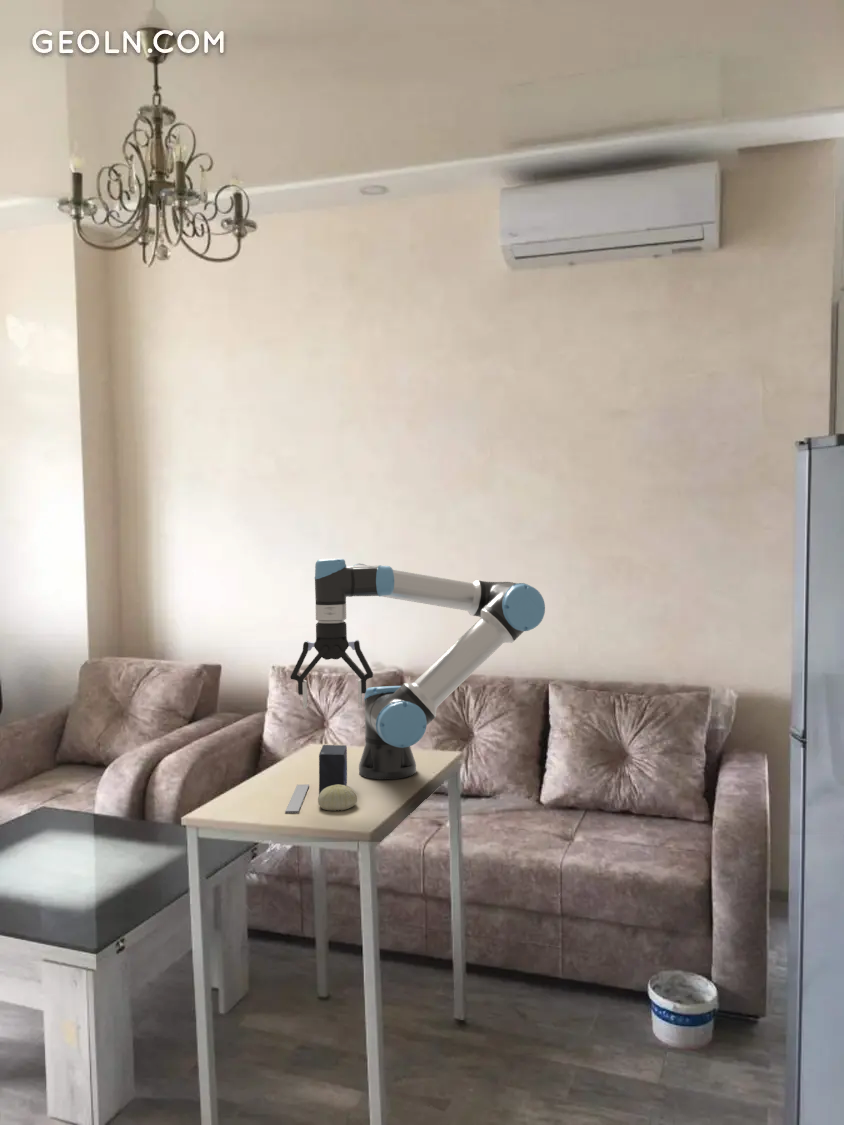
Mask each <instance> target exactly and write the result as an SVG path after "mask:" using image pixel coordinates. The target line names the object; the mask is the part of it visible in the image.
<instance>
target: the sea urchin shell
mask: <svg viewBox="0 0 844 1125" xmlns="http://www.w3.org/2000/svg"><path fill="white" fill-rule="evenodd" d="M357 802H358V796H357V793H356V792H355V791H354V789H352V788H351V787H349V786H348V785H347V786H345V785H339V784H338V785H332V786H328V787H326V788H325V789H323V790H322V791H321V793H320V794H319V793H318V797H317V803H318V806H319V807H320V808H321V809H323V810H326V811H336V810H338V811H339V810H341V811H346V810H349V809H352V808H353V807H354V806H356V804H357ZM341 811H340V812H341ZM336 812H337V811H336Z"/></svg>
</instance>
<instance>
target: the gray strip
mask: <svg viewBox="0 0 844 1125" xmlns="http://www.w3.org/2000/svg"><path fill="white" fill-rule="evenodd" d="M309 788H310V784H307V783H305V784H296V786H295V789H294V791H293V793H292V795H291V797H290V799H289V801H288V804H287V806H286V809H285V811H284V812H285V814H299V813H300V810H301V809H302V806H301V805H303V803H304V801H303V800H305V798H306V796H307V793H308V791H309ZM306 792H307V793H306Z"/></svg>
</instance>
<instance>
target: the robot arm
mask: <svg viewBox="0 0 844 1125" xmlns="http://www.w3.org/2000/svg"><path fill="white" fill-rule="evenodd" d="M314 568H315V569H314V592H315V594H314V595H315V597H314V598H315V620H316V621H317V622H316V624H315V642H311V641H309V640H306V641H304V642H303V644H302V645H303V646H302V652H301V653H300V655H299V658H298V660H297V662H296V664H295V666H294V668H293V671H292V672H291V675H290V679H291V680H294V681H295V682H297V692H298V695H299V696H300V695H301V696H302V709H304V710H306V709H307V708H308V687H307V686H308V685H307V684H308V681H307V680H305V678H306V677H307V676H308V675H309V674H310V672H311V671H312V670H313V669H314V667H315V666H316V665H317V664H318V663H319V662H320V660H321V659H324V660H325V661H326V660H327V661H328V660H339V659H342V660H343V661H344V662H345V663H346V664H347V665H348V666H349V668H350V669H351V670H352V671H353V672H354V674H356V676H357V677H358V678H359V679H358V681H357V692H358V694H357V697H358V699H357V700H358V704H357V706H358V708H362V707H363V702H364V729H365V730H364V735H365V736H364V737H365V738H364V739H365V742H364V744H365V745H364V748H363V751H362V754H361V758H360V761H359V764H358V773H359V775H360V776H361V777H364V778H367V779H373V780H398V779H404V778H409V777H412V776H414V775H415V774H416V773H417V763H416V759H415V757H414V754H413V751H412V749H411V748H412V746H414V745H416V744H417V743H418V742H420V741H421V740H422V738H423V737H424V735H425V733H426V730H427V726H428V725H430V723H432V721H433V720H434V719H435V718H436V717H437V708H438V707H439V706H440V705H441V704H442V703H443V702H444V701H445V700H446V699H447V698H448V697H449V696H450V695H451V694H452V693H454V691H456V690H457V689H458V687H460V686H461V685H462V684H463V683H464V681H465V682H466V680H467V679H468V678H469V677H470V676H471V675H472V674H473V673H474V672H475V671H476V670H478V668H479V667H480V666H481V665H483V664H484V663H485V662H486V661H487V659H489V657H490V656H492V654H494V652H496V651H497V650H498V649H499V648H500V647H501V646H502V645H503V644H505V643H508V644H509V643H510V644H513V642H515V640H517V639H518V637H520V636H521V635H522V634H523V633H524V632H529V631H531V630H533V629H535V628H537V627H538V626H539V625H540V624H541V622H542V621H543V619H544V616H545V612H546V605H545V604H546V603H545V600H544V597H543V595H542V594H541V593H540V591H539V590H538V589H537V588H535V587H534V586H531V585H529V584H528V583H524V582H523V583H522V582H521V583H520V582H519V583H517V582H512V581H485V580H478V579H475V580H474V581H473V582H468V581H461V580H455V579H450V578H449V579H448V578H445V577H437V576H432V575H426V574H422V573H414V572H409V571H405V570H404V571H403V570H397V569H393V567H391V566H389V565H367V564H364V563H356V564H354V565H351V566H347V564H346V559H344V558H322V559H321V558H320V559H318V560H317V561H316V562H315V566H314ZM347 597H348V598H349V597H350V598H353V597H382V598H387V599H388V598H389V599H395V600H400V601H407V602H411V603H418V604H423V605H424V604H425V605H430V606H434V607H435V606H436V607H443V608H449V609H454V610H460V611H467V612H468V614H469V615H470V616H473V617H479V619H478V620H477V621H475V623H474V624H473V625H472V626H471V627H470V628H469V629H468V630H467V631H466V632H465V633H464V634H462V636H461V637H459V638H458V639H457V641H455V643H453V644H452V645H451V646H450V647H449V648H448V649H447V650H446V651H444V653H443V654H442V655H441V656H440V657H439V658H438V659H437V660H435V661H434V662H433V664H431V665H430V666H429V667H428V668H427V669H426V670H425V671H424V672H423V673H422V674H421V675H420V676H419V677H417V678H416V679H415V681H413V682H408V683H407V682H404V683H403V684H402V685H388V686H387V685H386V686H373V687H372V686H371V687H367V680H368V679H371V678H374V671H373V670H372V668H371V667H370V665H369V663H368V660H367V658H366V657H365V655H364V653H363V651H362V649H361V644H360V641H359V639H356V640H352V641H348V637H347V631H348V630H347V628H348V627H347V622H346V620H347ZM349 647H350V648H351V649H352V651H355V653H356V656H357V658H358V659H359V661H360V663H361V665H362V667H363V669H364V671H365V673H364V672H363V671H362V670H361V669H360V667H359V666H358V665H357V664H356V663H355V661H354V660H352V658H351V657H350V656H349V655H348V653H347V652H346V651H347V649H348V648H349ZM313 648H314V649H315V650H316V652H317V654H316V655H315V657H314V658H313V660H311V662H310V663H309V664H308V665H307V666H306V668H305V669H304V670H303V671H302V673H301V674H299V671H300V669H301V667H302V665H303V663H304V661H305V659H306V657H307V655H308V653H309V652H310V651H311V650H312V649H313ZM363 694H364V698H363ZM414 773H415V774H414ZM413 774H414V775H413ZM411 775H412V776H411ZM408 776H409V777H408Z"/></svg>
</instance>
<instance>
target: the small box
mask: <svg viewBox="0 0 844 1125" xmlns="http://www.w3.org/2000/svg"><path fill="white" fill-rule="evenodd" d="M318 768H319V769H318V795H319V794H320V793H321V791H322V790H323V789H325V788H326V787H328V786H332V785H338V784H339V785H345V786H347V787H348V749H347V745H346V744H345V745H340V744H337V745H335V744H323V745H322V747H321V749H320V751H319V754H318Z"/></svg>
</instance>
